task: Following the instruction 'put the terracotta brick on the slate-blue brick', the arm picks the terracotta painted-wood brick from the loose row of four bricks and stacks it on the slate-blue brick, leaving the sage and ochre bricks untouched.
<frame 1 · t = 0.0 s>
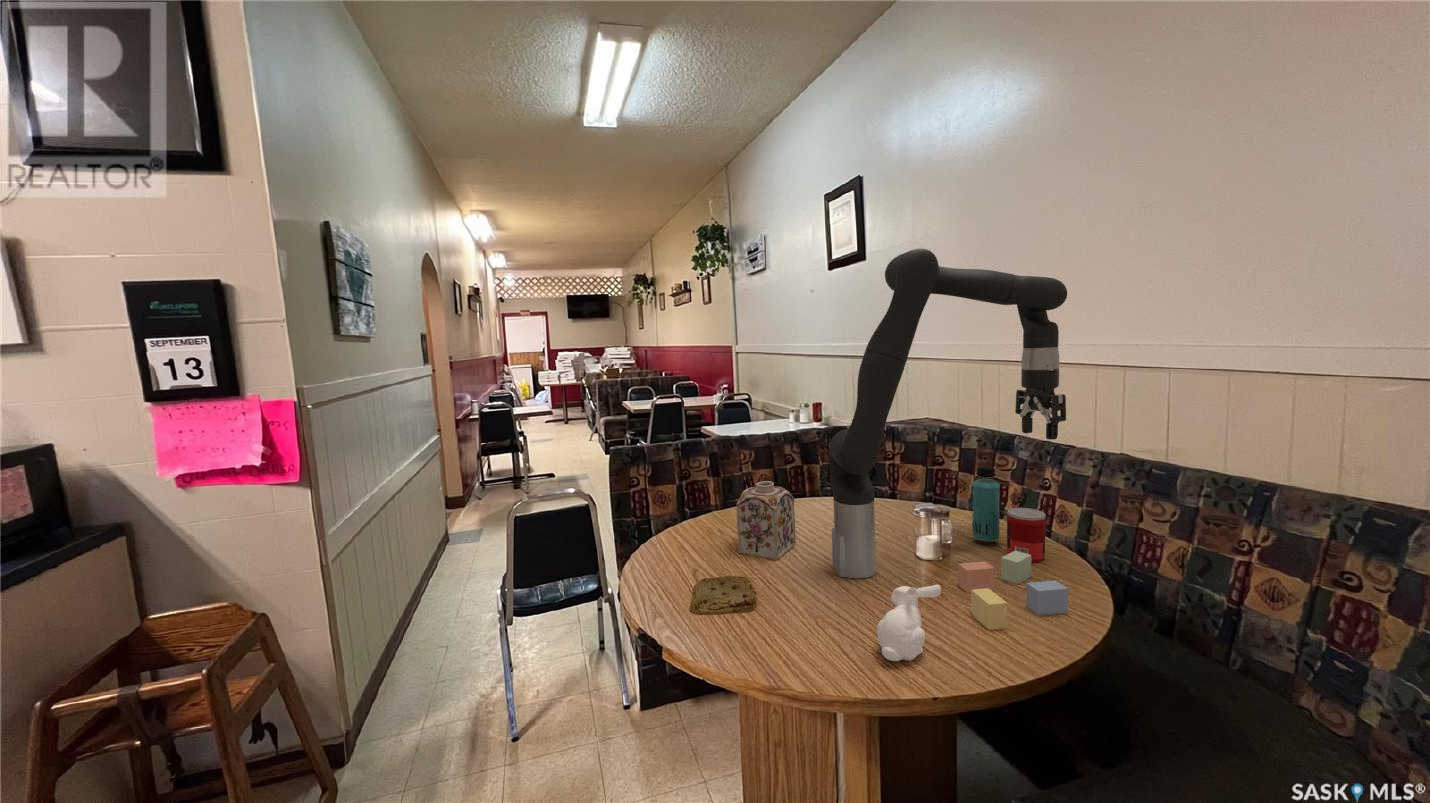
hand: (1039, 435, 127), 29 cm above the table, fingers open, 8 cm apart
slate brick: (1046, 610, 105), on the table
decorative jar: (767, 550, 142), on the table
ochre brick: (988, 621, 102), on the table
rabbit: (904, 648, 95), on the table
beverage bottle: (985, 543, 139), on the table
terracotta brick: (975, 588, 115), on the table
canned food: (1025, 557, 130), on the table
sage brick: (1016, 577, 119), on the table
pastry: (723, 600, 117), on the table
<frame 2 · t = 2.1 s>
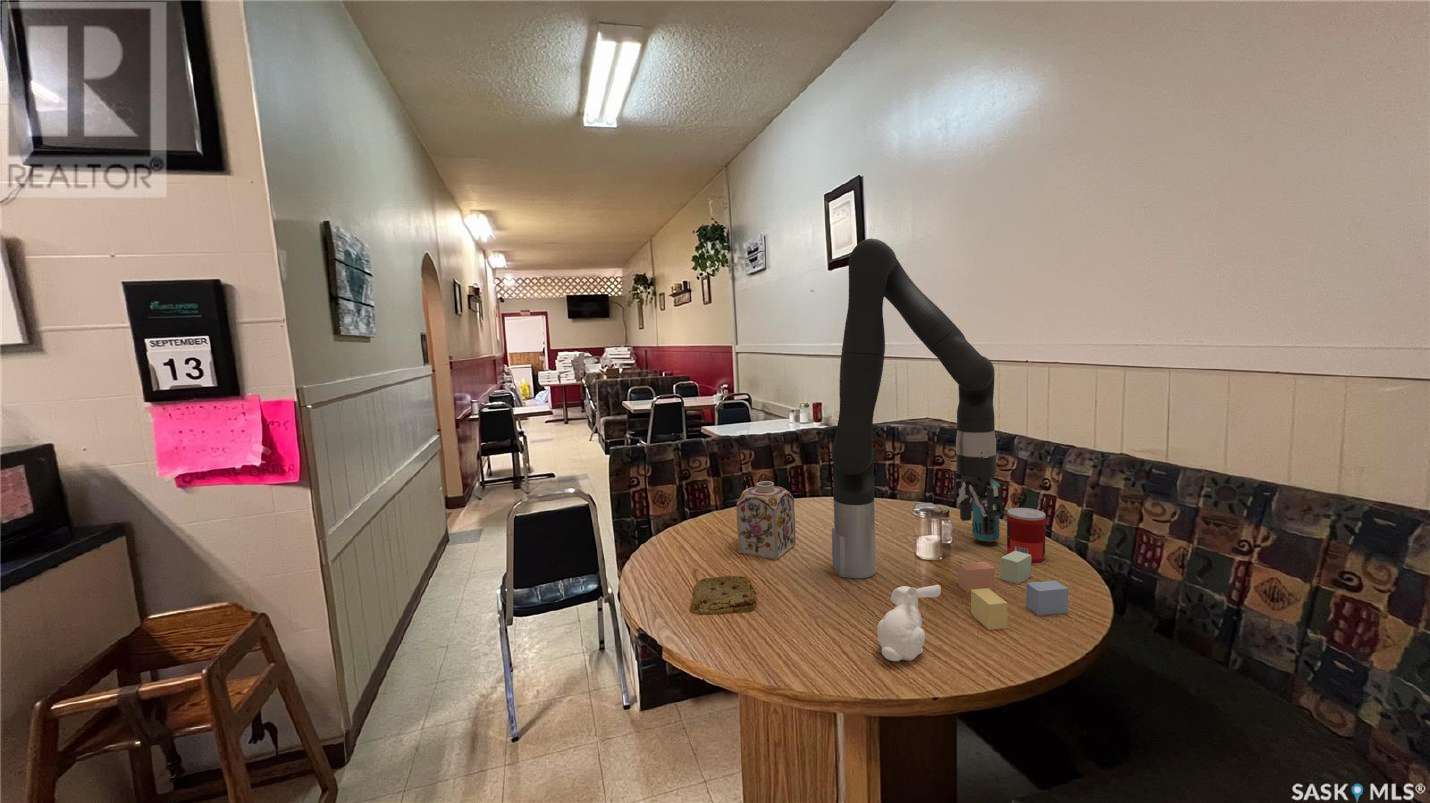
hand: (976, 526, 114), 14 cm above the table, fingers open, 8 cm apart
nothing on the table moved.
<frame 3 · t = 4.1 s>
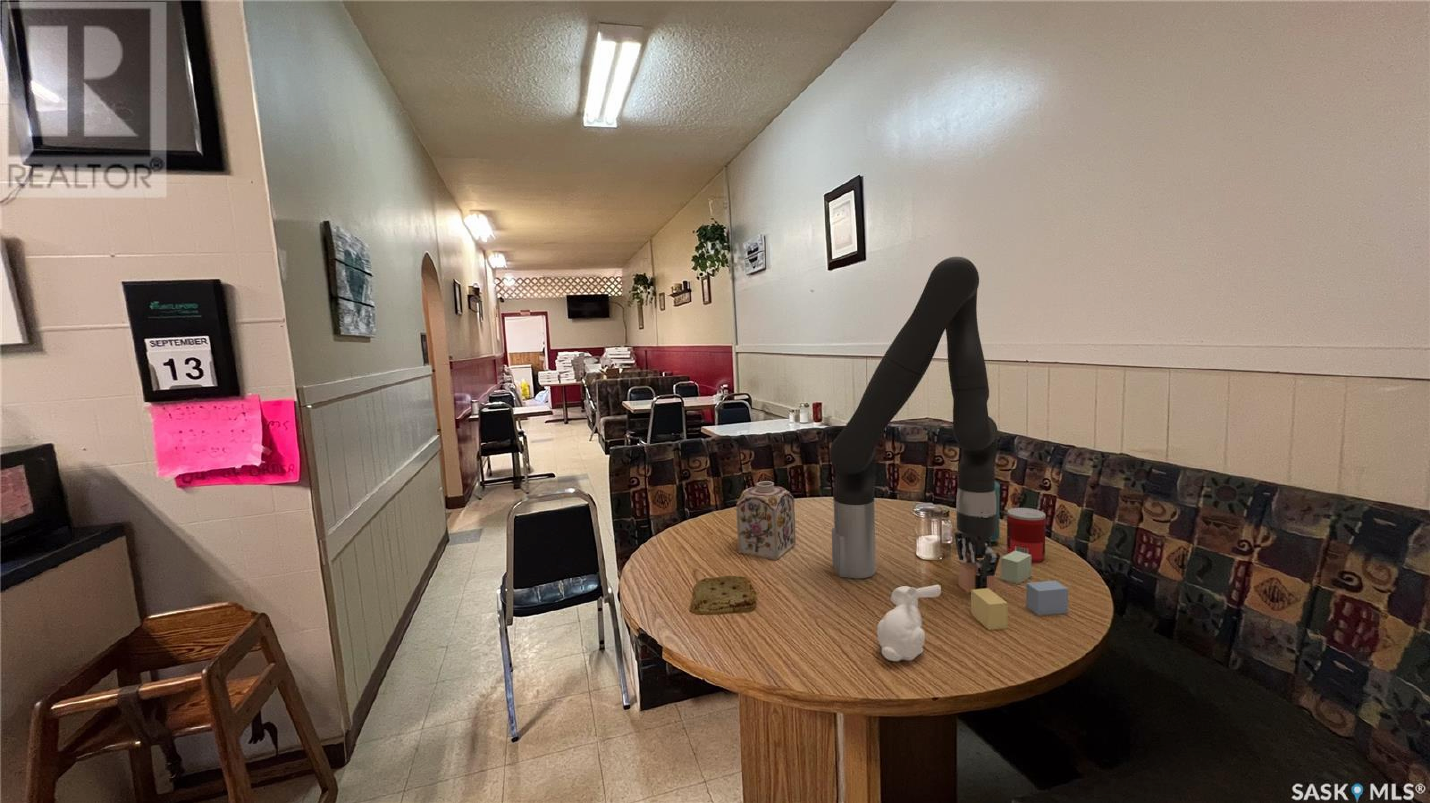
hand: (975, 586, 115), 0 cm above the table, fingers closed on terracotta brick, 3 cm apart
terracotta brick: (976, 587, 115), on the table, touching gripper
everything else where it was.
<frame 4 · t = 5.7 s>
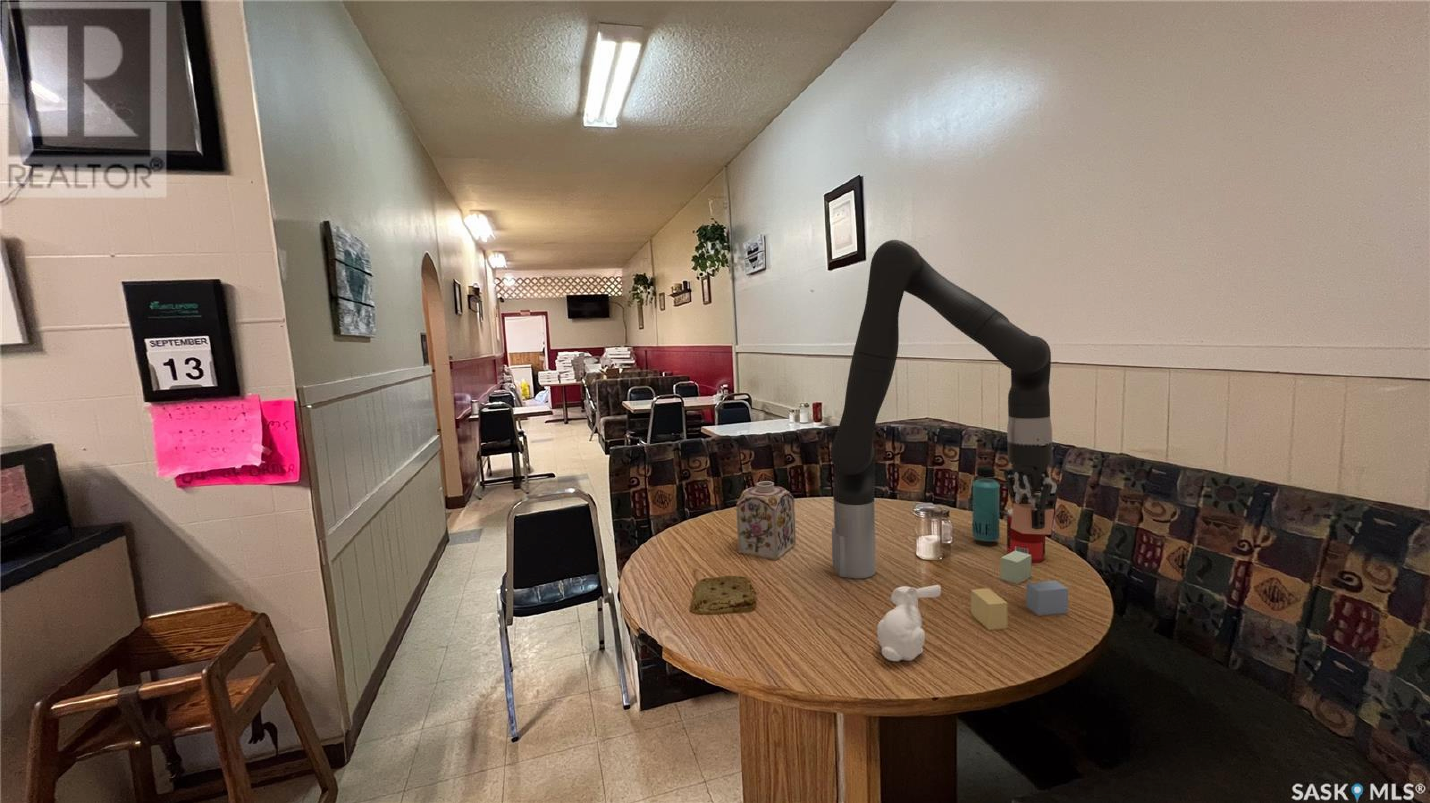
hand: (1031, 524, 106), 16 cm above the table, fingers closed on terracotta brick, 3 cm apart
terracotta brick: (1030, 531, 106), point 15 cm above the table, tilted 7°, touching gripper
everything else where it was.
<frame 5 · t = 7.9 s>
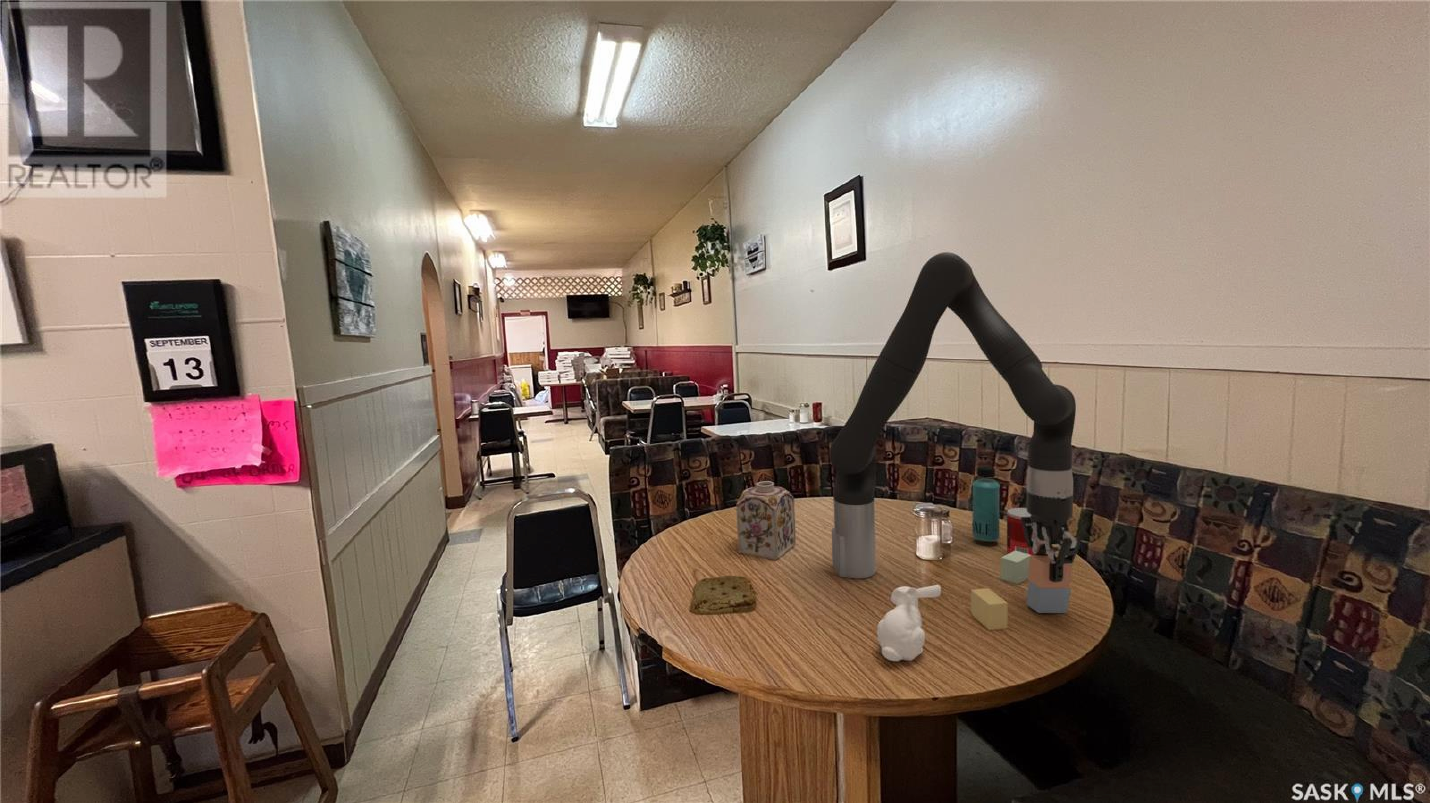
hand: (1048, 576, 104), 7 cm above the table, fingers closed on terracotta brick, 3 cm apart
slate brick: (1046, 608, 105), on the table, tilted 6°, touching terracotta brick
terracotta brick: (1048, 583, 104), point 5 cm above the table, tilted 6°, touching gripper, slate brick
everything else where it was.
when the fingers open (7 cm above the table, at t = 7.9 s): terracotta brick stays where it is, resting on slate brick.
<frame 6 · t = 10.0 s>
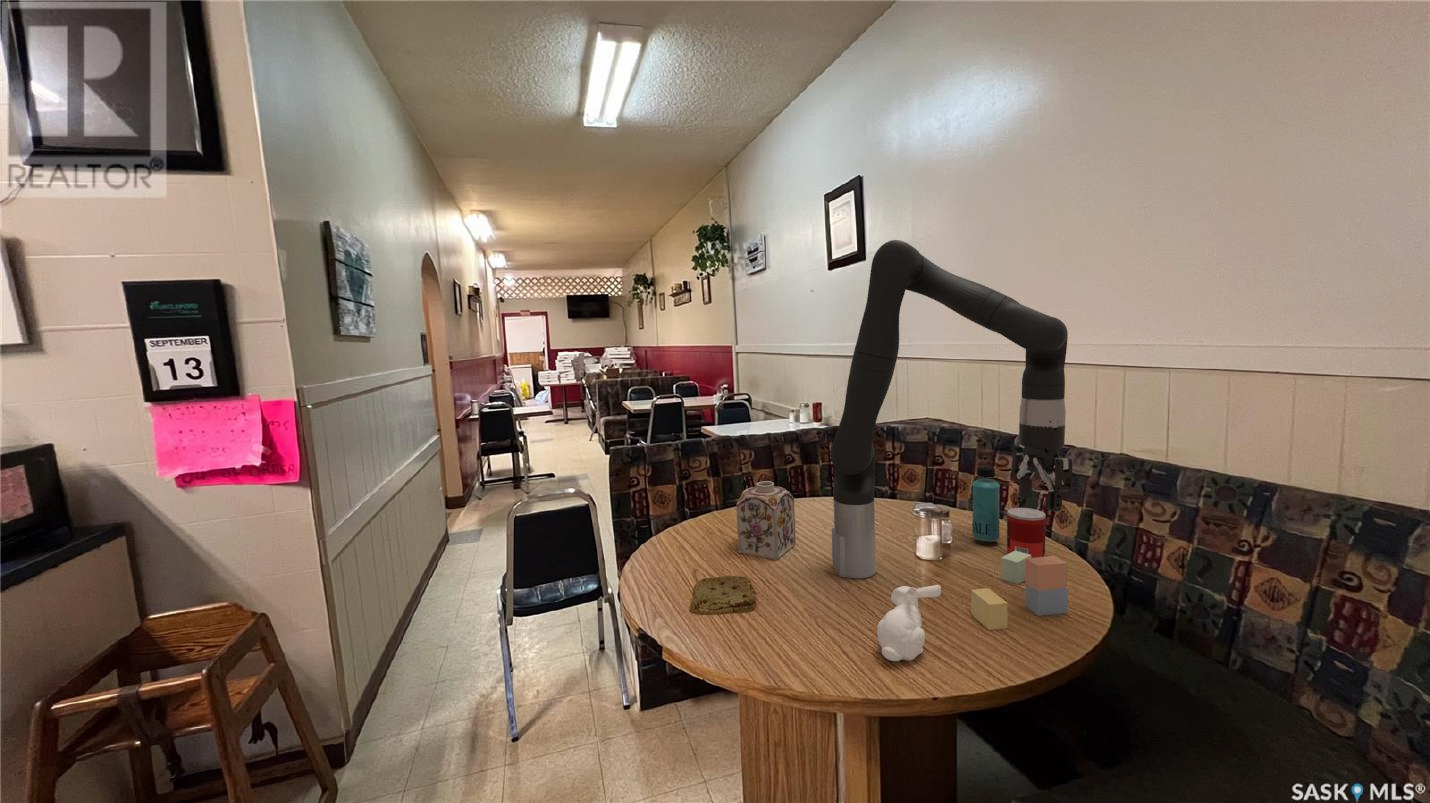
hand: (1039, 503, 105), 21 cm above the table, fingers open, 8 cm apart
slate brick: (1046, 609, 105), on the table, touching terracotta brick
terracotta brick: (1045, 585, 104), point 5 cm above the table, touching slate brick
everything else where it was.
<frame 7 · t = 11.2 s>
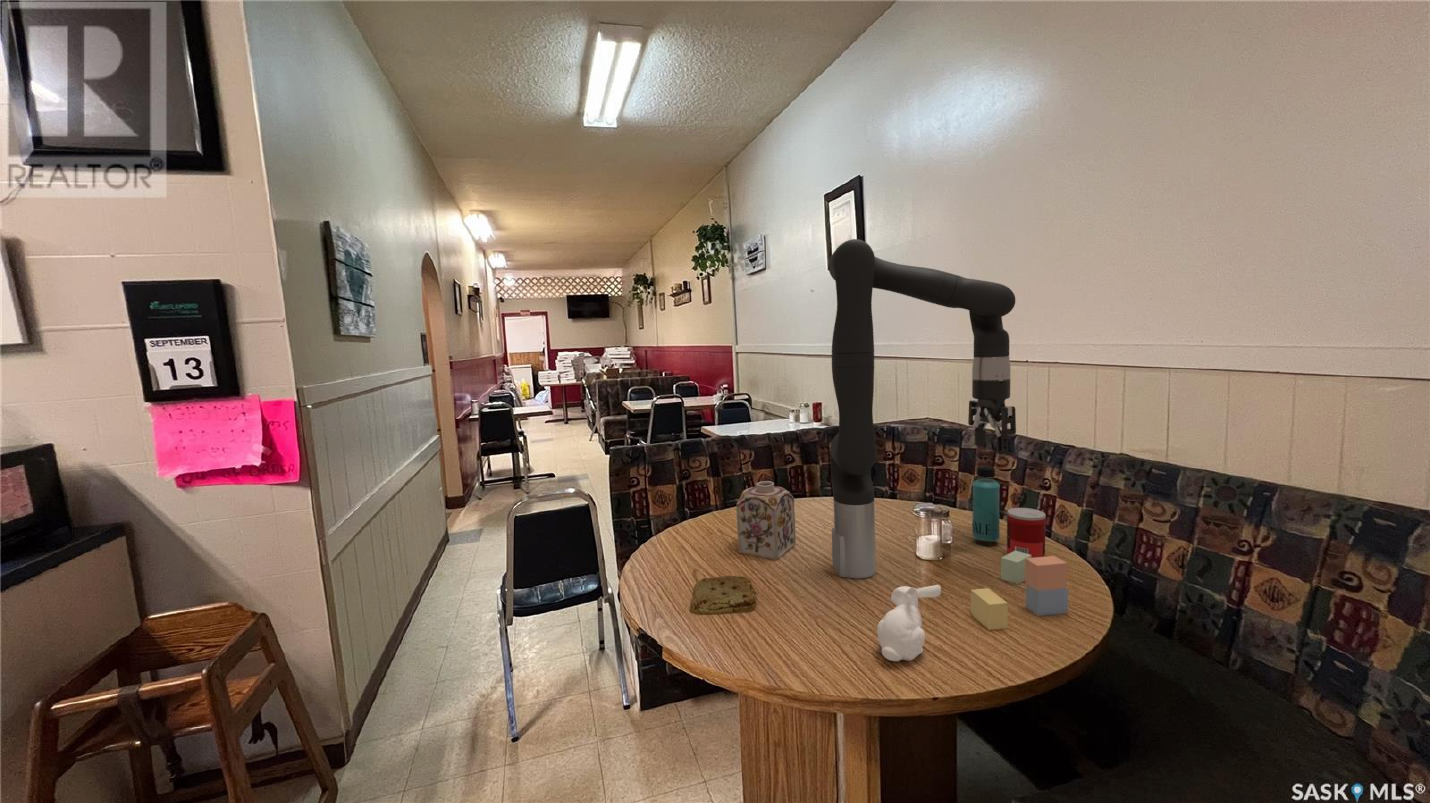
hand: (990, 449, 121), 28 cm above the table, fingers open, 8 cm apart
nothing on the table moved.
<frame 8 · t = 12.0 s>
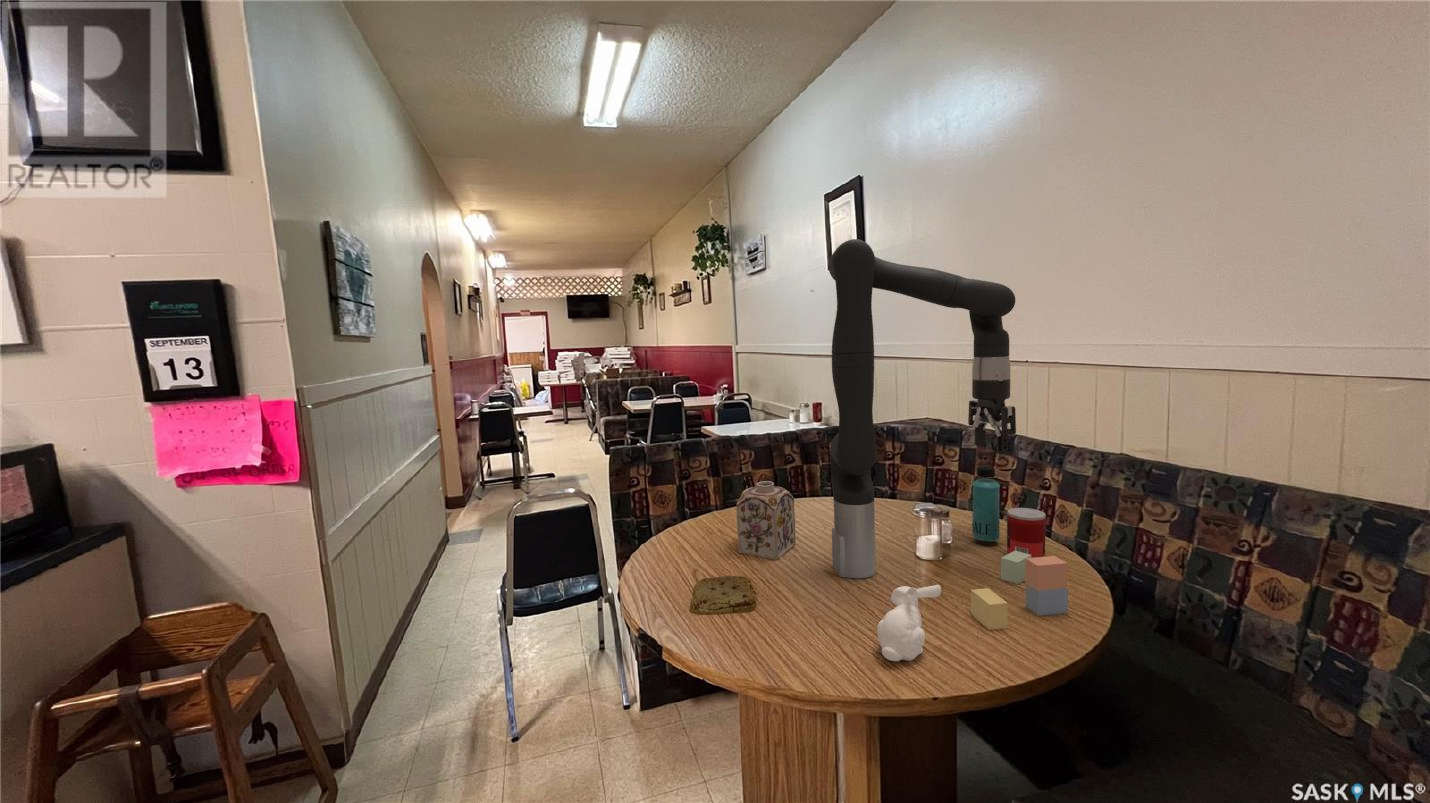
hand: (990, 449, 121), 28 cm above the table, fingers open, 8 cm apart
nothing on the table moved.
at the end: terracotta brick 0.2 cm off-centre on the slate brick, point 5.0 cm above the slate brick's base; sage brick moved 0.1 cm from its start; ochre brick moved 0.1 cm from its start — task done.
